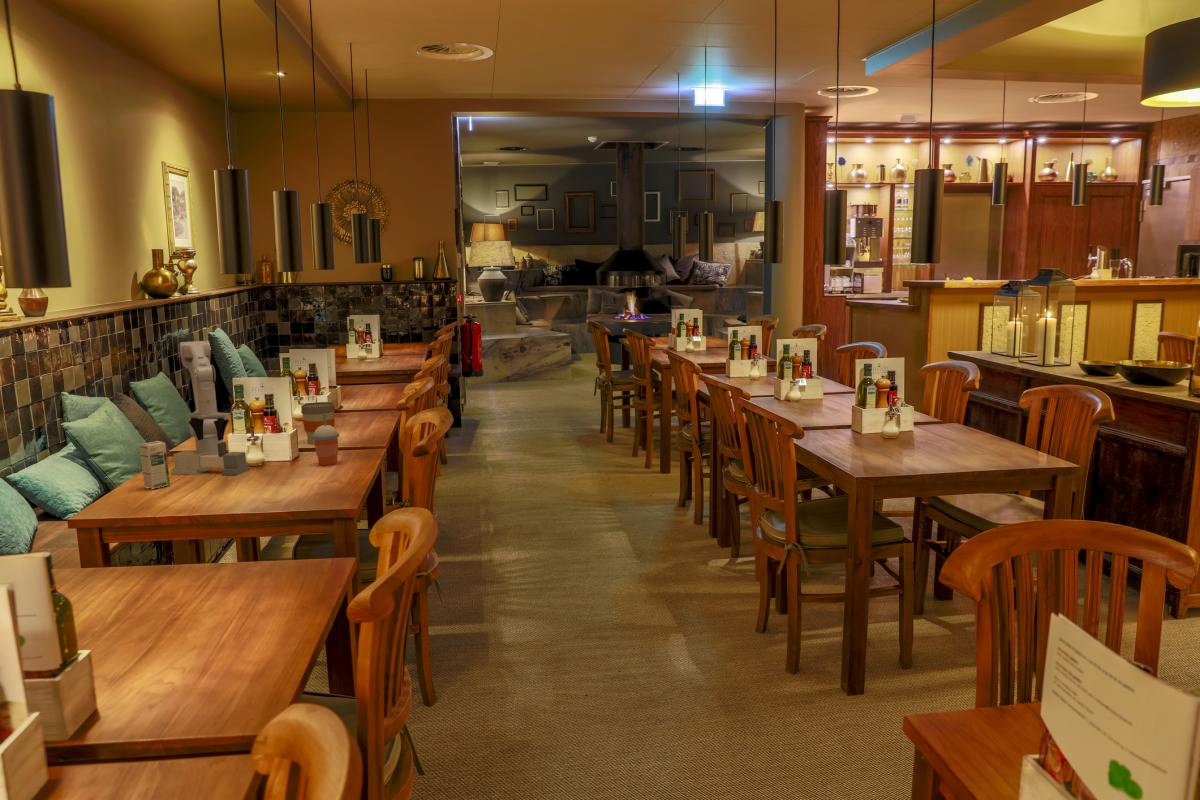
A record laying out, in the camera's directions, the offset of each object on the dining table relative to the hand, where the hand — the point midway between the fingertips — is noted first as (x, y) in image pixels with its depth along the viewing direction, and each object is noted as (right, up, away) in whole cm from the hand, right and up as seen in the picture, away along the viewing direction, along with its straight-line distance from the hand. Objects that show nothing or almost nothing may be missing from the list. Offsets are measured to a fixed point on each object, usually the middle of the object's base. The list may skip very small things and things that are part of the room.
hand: (210, 439), depth 302 cm
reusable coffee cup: (+24, -3, +44) cm, 50 cm away
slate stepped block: (+10, -11, -4) cm, 16 cm away
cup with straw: (+39, -9, +6) cm, 40 cm away
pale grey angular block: (+4, -9, -3) cm, 10 cm away
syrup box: (-8, -14, -21) cm, 27 cm away
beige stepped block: (-6, -11, -1) cm, 12 cm away
